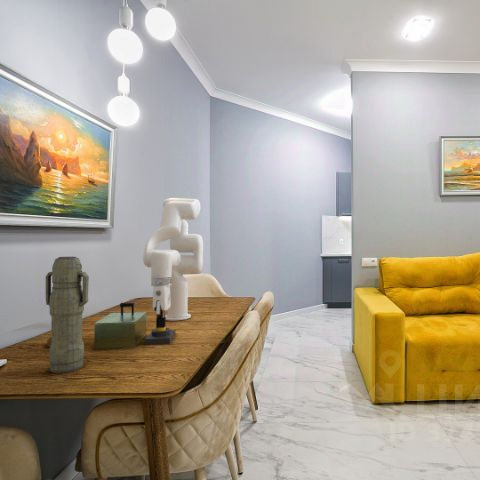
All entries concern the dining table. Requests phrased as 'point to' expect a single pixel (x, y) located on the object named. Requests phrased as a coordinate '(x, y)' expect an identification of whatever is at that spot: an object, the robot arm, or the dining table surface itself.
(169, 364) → the dining table surface
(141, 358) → the dining table surface
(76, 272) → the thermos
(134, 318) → the lid
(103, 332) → the green box
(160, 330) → the button
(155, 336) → the control box
